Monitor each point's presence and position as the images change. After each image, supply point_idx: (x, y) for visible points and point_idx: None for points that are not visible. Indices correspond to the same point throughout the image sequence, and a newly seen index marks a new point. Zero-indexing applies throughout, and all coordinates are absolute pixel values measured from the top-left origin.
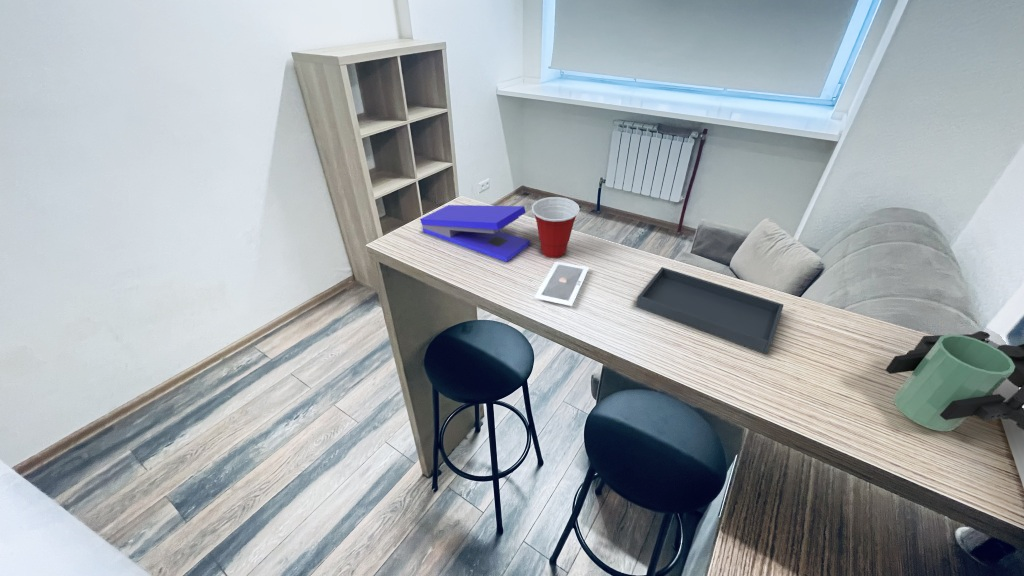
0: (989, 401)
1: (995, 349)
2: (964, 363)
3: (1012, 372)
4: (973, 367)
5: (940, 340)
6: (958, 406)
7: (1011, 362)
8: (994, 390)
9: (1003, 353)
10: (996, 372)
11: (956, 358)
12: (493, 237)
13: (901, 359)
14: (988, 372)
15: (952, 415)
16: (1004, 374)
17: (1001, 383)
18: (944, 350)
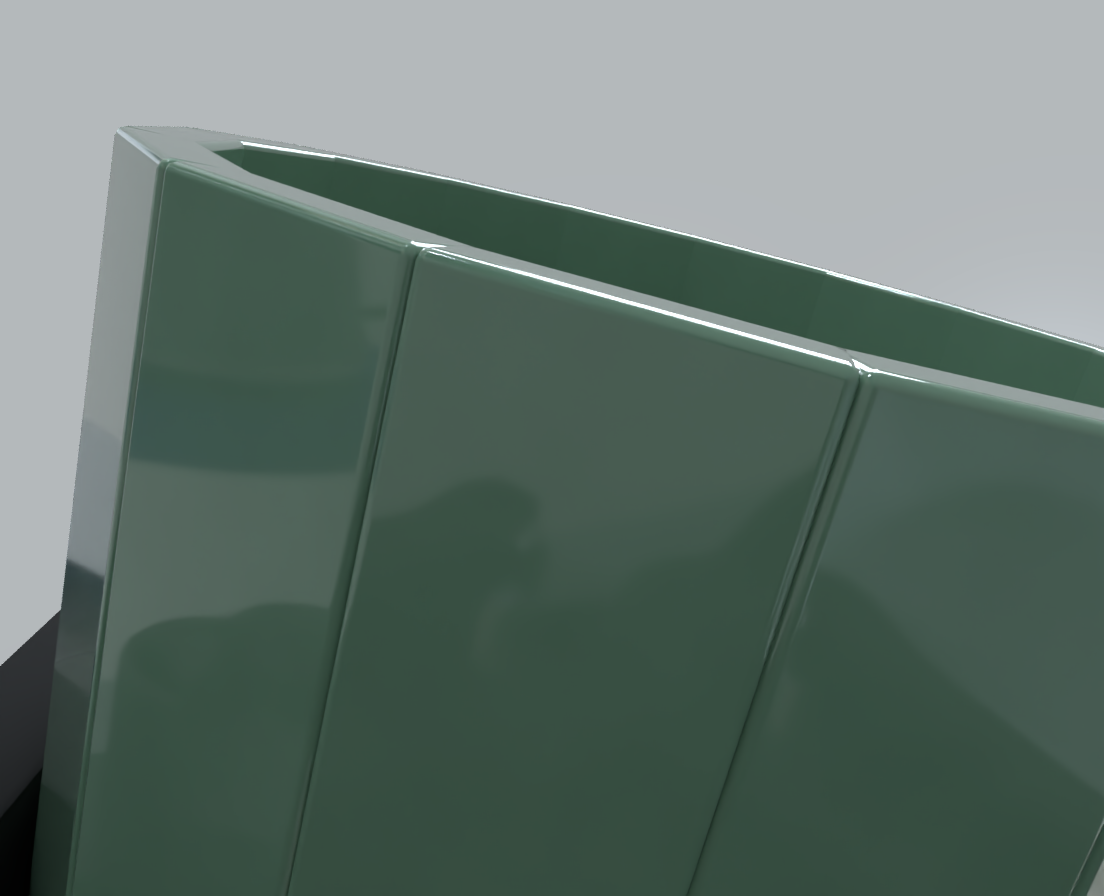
0: (4, 664)
1: (941, 374)
2: (539, 197)
3: (118, 142)
4: (457, 183)
5: (999, 317)
6: None
7: (309, 194)
8: (53, 691)
9: (724, 319)
10: (274, 149)
11: (631, 223)
12: None
13: None
14: (325, 151)
15: None
16: (185, 127)
17: (76, 499)
18: (777, 257)
